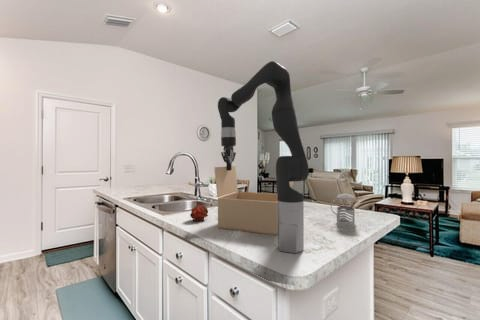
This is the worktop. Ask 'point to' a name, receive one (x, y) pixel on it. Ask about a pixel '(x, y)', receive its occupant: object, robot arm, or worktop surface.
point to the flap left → (225, 180)
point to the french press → (343, 221)
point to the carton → (249, 212)
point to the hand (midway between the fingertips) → (229, 170)
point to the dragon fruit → (199, 213)
